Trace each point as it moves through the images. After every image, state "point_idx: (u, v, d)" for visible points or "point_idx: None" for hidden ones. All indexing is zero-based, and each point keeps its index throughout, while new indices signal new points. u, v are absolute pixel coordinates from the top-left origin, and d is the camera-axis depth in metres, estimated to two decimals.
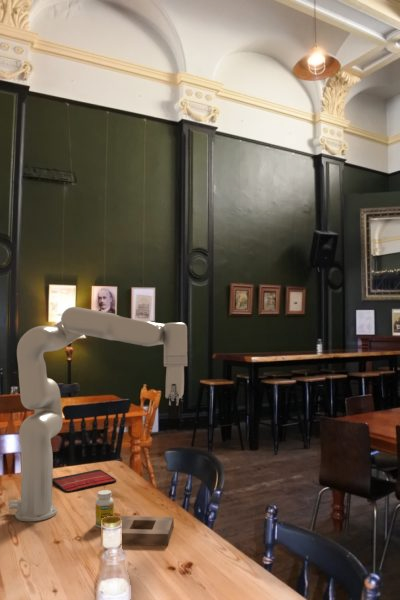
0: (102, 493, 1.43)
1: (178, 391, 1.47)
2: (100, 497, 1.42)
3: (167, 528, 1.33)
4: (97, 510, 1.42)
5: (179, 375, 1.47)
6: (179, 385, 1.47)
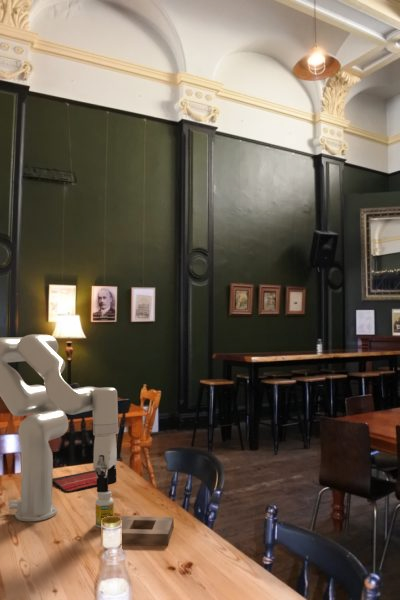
0: (102, 493, 1.43)
1: (106, 462, 1.40)
2: (100, 497, 1.42)
3: (167, 528, 1.33)
4: (97, 510, 1.42)
5: (107, 445, 1.41)
6: (107, 456, 1.40)
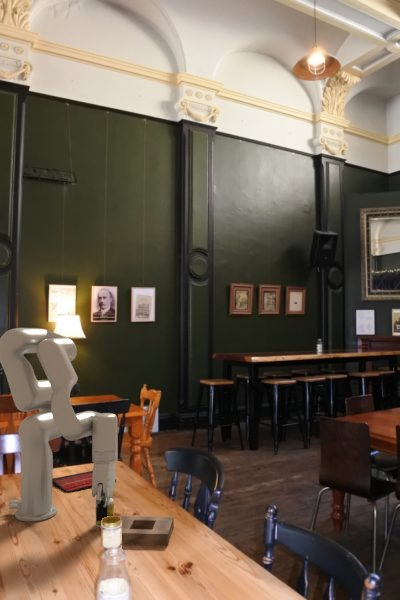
0: None
1: (105, 494, 1.40)
2: None
3: (167, 528, 1.33)
4: None
5: (106, 473, 1.40)
6: (106, 484, 1.40)
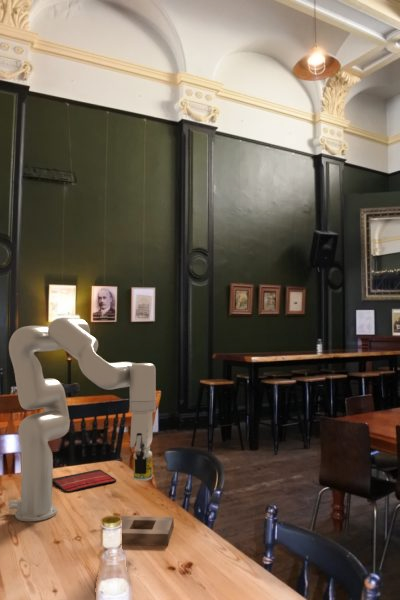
0: None
1: None
2: None
3: (167, 528, 1.33)
4: None
5: (145, 423, 1.33)
6: (145, 434, 1.33)
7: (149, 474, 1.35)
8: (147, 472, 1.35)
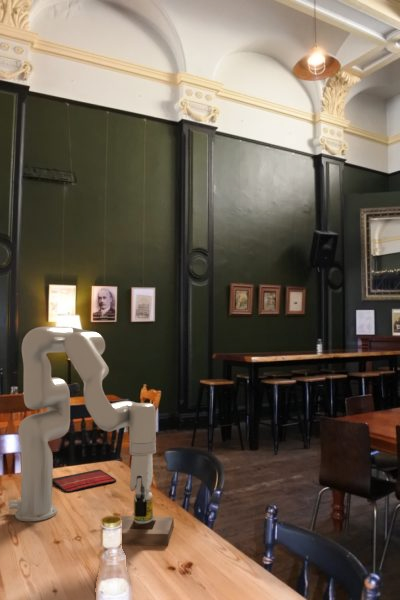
0: None
1: (144, 487, 1.32)
2: None
3: (167, 528, 1.33)
4: None
5: (145, 466, 1.32)
6: (145, 477, 1.32)
7: (149, 516, 1.34)
8: (147, 514, 1.34)
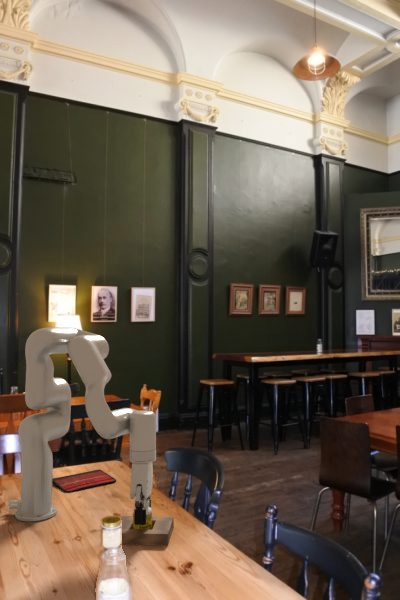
0: None
1: (144, 494, 1.32)
2: None
3: (167, 528, 1.33)
4: None
5: (145, 474, 1.32)
6: (145, 485, 1.32)
7: None
8: None
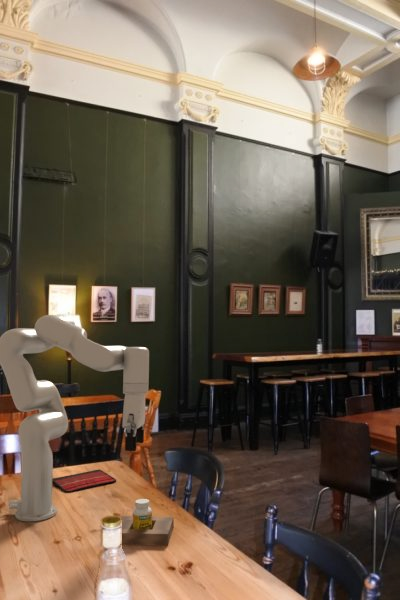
0: (140, 502, 1.35)
1: (136, 421, 1.37)
2: (138, 506, 1.34)
3: (167, 528, 1.33)
4: (135, 520, 1.34)
5: (137, 404, 1.38)
6: (137, 415, 1.38)
7: None
8: None
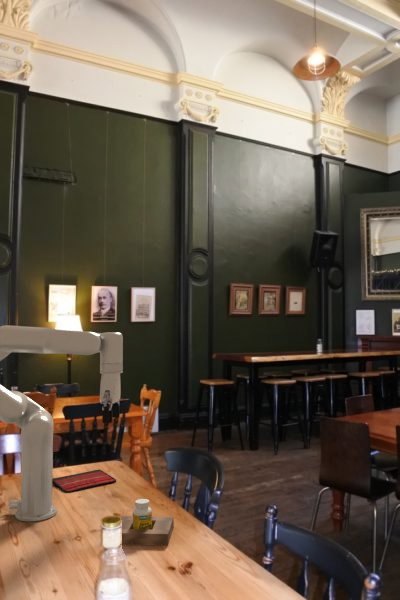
0: (140, 502, 1.35)
1: (111, 397, 1.56)
2: (138, 506, 1.34)
3: (167, 528, 1.33)
4: (135, 520, 1.34)
5: (113, 382, 1.57)
6: (112, 391, 1.56)
7: None
8: None
